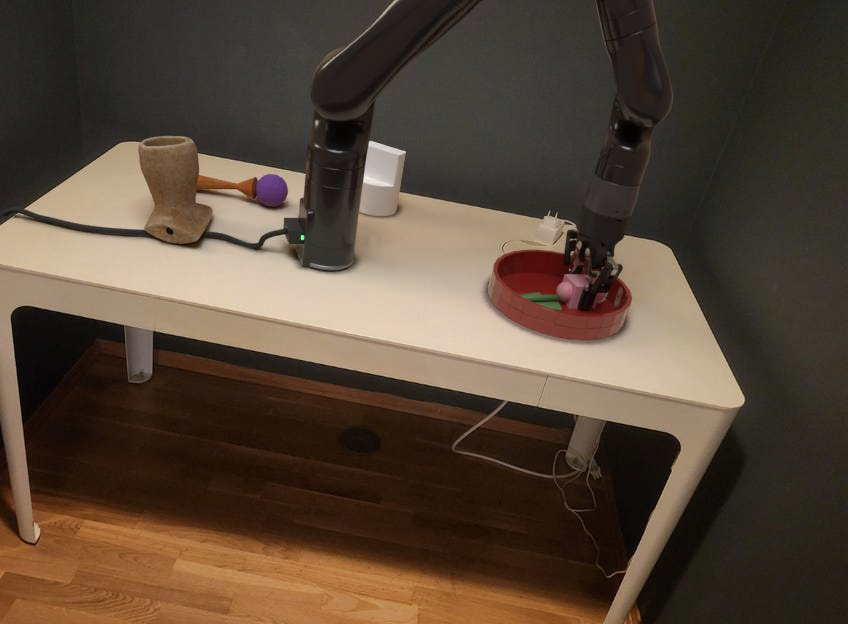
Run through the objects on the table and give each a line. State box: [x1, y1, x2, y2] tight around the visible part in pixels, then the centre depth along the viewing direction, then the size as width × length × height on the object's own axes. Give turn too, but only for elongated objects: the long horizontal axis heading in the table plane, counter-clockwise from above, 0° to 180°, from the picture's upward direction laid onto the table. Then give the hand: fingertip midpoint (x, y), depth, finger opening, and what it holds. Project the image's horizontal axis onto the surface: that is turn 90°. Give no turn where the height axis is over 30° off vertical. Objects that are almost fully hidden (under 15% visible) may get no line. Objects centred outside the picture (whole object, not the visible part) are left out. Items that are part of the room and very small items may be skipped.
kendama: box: [196, 173, 289, 207], centre depth 140 cm, size 6×6×20 cm
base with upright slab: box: [359, 140, 407, 217], centre depth 144 cm, size 9×9×12 cm
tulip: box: [520, 274, 605, 311], centre depth 121 cm, size 17×6×4 cm, turn 106°
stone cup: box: [137, 135, 214, 245], centre depth 124 cm, size 15×12×15 cm
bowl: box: [487, 249, 633, 341], centre depth 121 cm, size 22×22×4 cm
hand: (576, 301), depth 124 cm, fingers closed on tulip, 4 cm apart
